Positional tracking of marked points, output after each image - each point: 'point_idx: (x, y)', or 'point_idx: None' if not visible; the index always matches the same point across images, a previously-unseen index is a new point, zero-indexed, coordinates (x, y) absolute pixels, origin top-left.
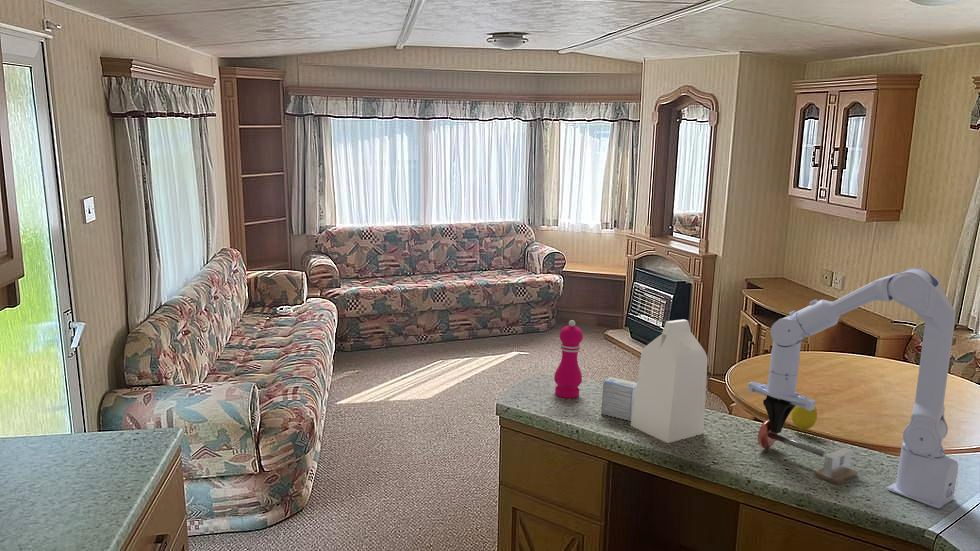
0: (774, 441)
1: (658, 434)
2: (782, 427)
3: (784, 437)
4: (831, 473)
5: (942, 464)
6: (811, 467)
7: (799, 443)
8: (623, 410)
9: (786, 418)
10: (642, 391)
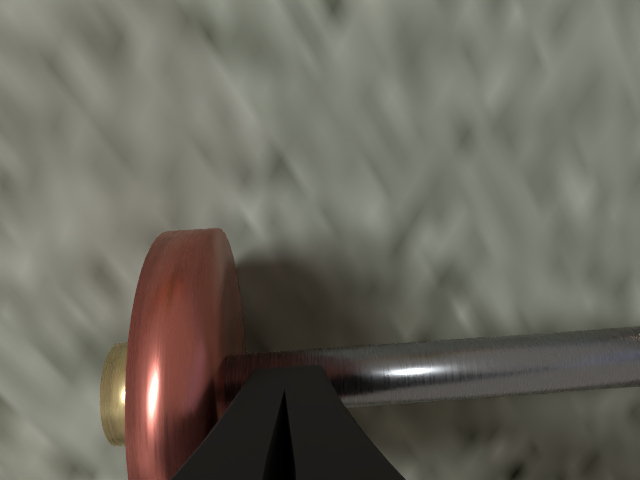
0: (229, 249)
1: None
2: (331, 385)
3: (400, 394)
4: None
5: None
6: (614, 304)
7: (575, 387)
8: None
9: (386, 464)
10: None
